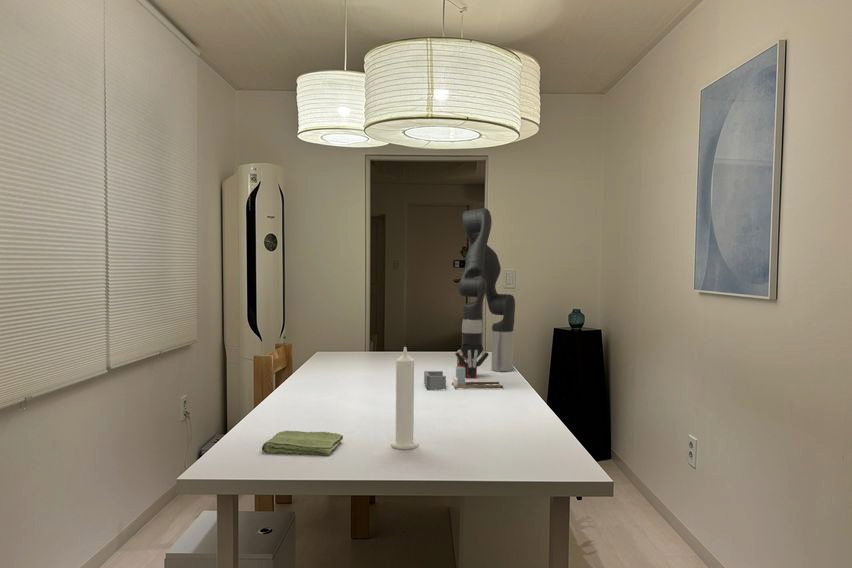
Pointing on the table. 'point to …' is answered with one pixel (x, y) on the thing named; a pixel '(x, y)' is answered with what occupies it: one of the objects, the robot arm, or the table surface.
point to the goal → (434, 380)
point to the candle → (404, 403)
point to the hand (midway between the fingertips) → (471, 377)
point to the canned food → (465, 366)
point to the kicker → (459, 376)
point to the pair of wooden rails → (479, 386)
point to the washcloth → (302, 443)
